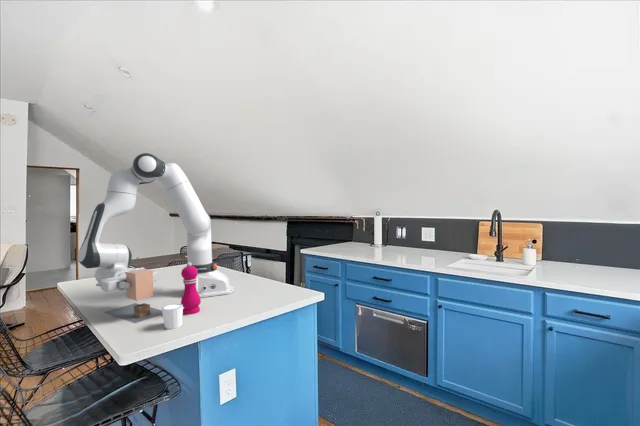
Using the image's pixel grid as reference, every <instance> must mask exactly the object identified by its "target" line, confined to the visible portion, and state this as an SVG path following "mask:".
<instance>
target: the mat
mask: <svg viewBox="0 0 640 426" xmlns="http://www.w3.org/2000/svg"><path fill="white" fill-rule="evenodd" d="M139 304H140V303H136V302H135V303H131V304H126V305H124V306H122V307H121V306H120V307H118V308H117V307H116V308H113V309H110V310H107V311H106V310H105V311H103V313H104V314H106V315H109V316H112V317H116V318H119V319H121V320H124V321H127V322H130V323H132V324H133V323H134V324H137V323H140V322H143V321H146V320H150V319H152V318H155V317H159V316H163V314H162V309H158V308H156V307H155V308H154V307H152V306H150V315H148V316H145V317H142V318H138V317H135V316H134V306H136V305H139Z"/></svg>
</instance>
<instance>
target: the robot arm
mask: <svg viewBox="0 0 640 426" xmlns="http://www.w3.org/2000/svg"><path fill="white" fill-rule="evenodd" d="M155 181H158V182H159V183H161V185H162V186H163V188H164V190H165V191H166V193H167V195H168V197H169V198H170V200H171V202H172V204H173V206H174V207H175V210H176V212H177V214H178V216H179V218H180V220H181V222H182V224H183V227H184V228H185V229H186V233H187V234H186V235H187V236H186V241H187V242H186V254H187V255H186V256H187V263H188V262H190V263H191V264H192V265H191V266H193V267H195V268H196V269H197V270H198V275H197V276H196V278H197V279H196V280H197V282H196V289H197V292H198V294H199V296H200V299H201V298H208V297H215V296H222V295H223V296H224V295H230V294H232V293H234V292H235V289H236V288H235V285H233V284H231V282H230V279H229V277H228V275H226V274H225V273H223V272H221V271H220V270H218V264H217V262H214V261H213V251H212V249H213V248H212V247H213V246H212V244H213V243H212V220H211V216H210V215H209V214H208V213H207V212H206V210H205V208H204V206H203V205H202V202H201V201H200V198H199V196H198V195H197V193H196V191H195V189H194V188H193V185H192V184H191V182H190V180H189V178H188V176H187V175H186V173H185V172H184V171H183V169H182V168H181V167H180V166H179V165H178V164H177V163H176V162H167V163H165V162H164V161H163V160H162V159H160V158H158V157H157V156H155V155H153V154H152V153H147V152H145V153H144V152H143V153H139V154H138V155H137V156H136V157H135V158H134V159H133V162H132V166H131V167H130V168H124V167H123V168H117V169H114V170H112V172H111V175H110V176H109V181H108V182H107V183H108V184H107V189H106V195H105V197H104V200H103V201H102V202H101V203H98V204H97V205H96V206H95V208H94V210H93V213H92V215H91V218H90V221H89V224H88V227H87V230H86V232H85V236H84V239H83V242H82V244H81V246H80V249H79V251H78V254H77V261H78V262H79V264H80V265H81V266H82V267H84V268H86V269H96V270H95V272H94V278H95V281H96V282H97V283H96V284H95V286H96V287H99V288H100V289H101V290H102V291H104V292H113V291H117V290H118V291H125V290H126V291H127V288H130V287H132V282H126V272H128V271H134V270H139V269H146V268H145V267H142V266H141V267H130V265H131V263H132V259H133V256H132V251H131V250H130V248H129V246H128V245H126V244H125V243H103V242H99V241H100V238H101V235H102V231H103V230H104V226H105V223H106V222H107V221H108V220H110V219H111V218H115V217H119V216H123V215H127V214H128V213H130V212H131V211H132V210H133V209H134V208H135V206H136V203H137V194H138V193H137V192H138V188H139V185H143V184H145V185H146V184H150V183H153V182H155ZM147 270H150V269H149V268H148V269H147ZM158 273H159V272H158V271H156V270H153V282H157V281H158V279H159V274H158Z"/></svg>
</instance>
